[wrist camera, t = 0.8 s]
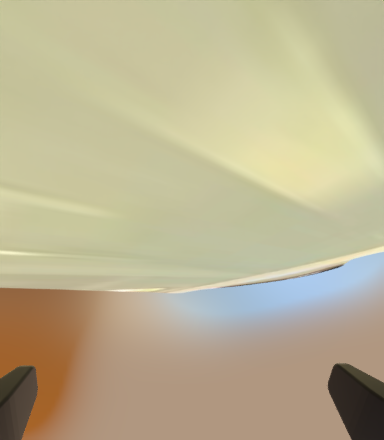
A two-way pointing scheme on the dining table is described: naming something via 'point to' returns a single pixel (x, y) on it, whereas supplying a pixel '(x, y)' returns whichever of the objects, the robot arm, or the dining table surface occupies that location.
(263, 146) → the dining table surface
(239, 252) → the dining table surface
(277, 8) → the dining table surface
